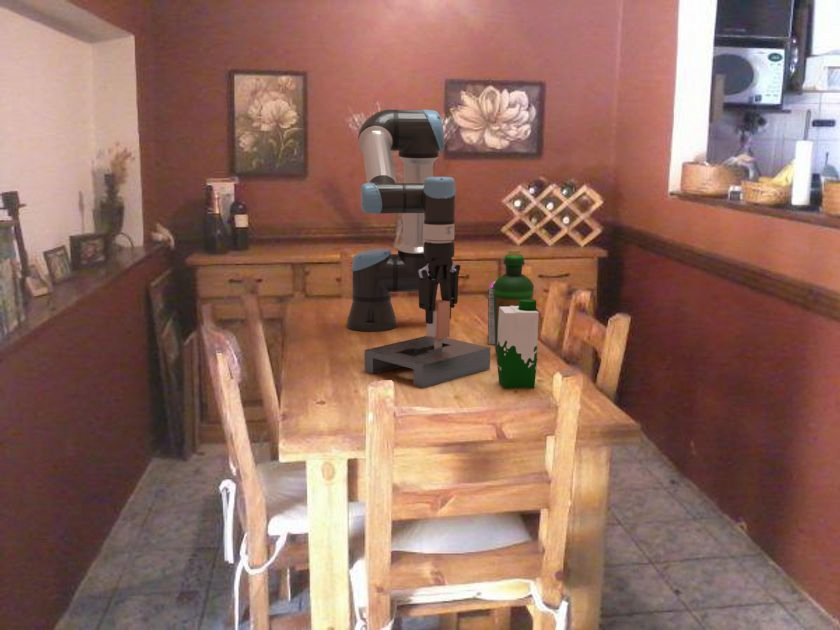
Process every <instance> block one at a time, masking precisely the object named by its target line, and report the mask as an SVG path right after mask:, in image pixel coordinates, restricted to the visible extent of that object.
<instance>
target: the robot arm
mask: <svg viewBox="0 0 840 630" xmlns="http://www.w3.org/2000/svg"><path fill="white" fill-rule="evenodd" d="M357 135H358V136H357V143H358V148H359V149H360V151H361V153H362V155H363V162H364V170H365V178H366V183H365V182H364V183H363V184H361V186H360V208H361V211H362V212H363V213H365V214H374V215H379V214H403V215H402V218H403V220H402V223H403V224H402V243H401V244H400V245H399V246H398V247H397V253H392V251H391V249H389V248H376V249H375V248H374V249H370V250H362V251H360V252H357V253H355V255H354V256H353V257H352V263H351V264H352V265H351V272H352V302H351V306H350V310H349V314H348V316H347V319H346V326H347V327H346V328H348V329H350V330H353V331H360V332H381V331H388V330H393V329H395V328H396V327H397V316H396V315H395V311H394V307H393V305H392V299H391V297H392V296H391V294H392V293H418V308H419V309H422V310H424V311H425V320H424V322H425V324H426V336H432V337H437V311H435V310H434V309H435V302H436V300H437V295H438V294H437V293H438V289H440V296H441V300H445V301H450V320H451V319H452V309H454V308H455V307H456V305H457V304H458V299H459V298H458V297H459V295H458V294H459V274H460V270H461V265H460V264H456V263H454V261H453V259H452V258H453V257H455V242H454V240H455V219H456V217H455V214H456V213H455V212H456V211H455V210H456V207H455V206H456V194H457V193H456V191H457V190H456V181H455V179H454V178H453V177H451V176H434V162H435V161H437V159H439V152H443V151H444V150H445V136H444V135H445V133H444V126H443V121H442V117H441V115H440V113H439V112H438V111H436V110H432V109H423V108H422V109H387V108H386V109H384V110H382V109H381V110H380V111H377V112H375V113H373V114H372V115H370V116H369V117H367V119H366V120H365V121H363V124H362V125H361V126H360V128H359V131H358V134H357ZM392 151H393V152H394V151H395V152H396V151H397V152H398V158H399V159H400V160H401V161H402V163H403V182H400V183H398V182H397V179H396V173H395V168H394V163H393V158H392ZM429 304H430V305H429Z"/></svg>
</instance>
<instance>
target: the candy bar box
mask: <svg viewBox="0 0 840 630" xmlns="http://www.w3.org/2000/svg"><path fill="white" fill-rule="evenodd" d="M495 282H496V280H492V282H491V283H490V284H489V287H488V288H487V289H488V290H487V291H488V294H487V295H488V296H487V344H488V345H490V346H491V345H492V346H495V325H494V297H493V285H494V283H495Z"/></svg>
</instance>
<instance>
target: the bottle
mask: <svg viewBox="0 0 840 630" xmlns="http://www.w3.org/2000/svg"><path fill="white" fill-rule="evenodd" d="M507 252H508V254H505V255H504V259H503V265H505V273H504V274H503V275H501V276H500V277H498V278H497V279H496V280H495V281H496V282H495V283H494V285H493V297H494V325H495V345H494V347H495V348H494V350H495V351H494V353H495V354H496V355H497V341H498V318H499V307H510V306H519V300H520V299H534V290H535V289H534V288H535V285H534V283H533V282H532V280H531V279H530V278H529V277H528V276H526V275H525V274H523V273H522V272H523V266H524V265H525V257H524V255H523V254H521V253H522V251H521V250H520V249H508V250H507Z"/></svg>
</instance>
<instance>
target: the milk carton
mask: <svg viewBox="0 0 840 630" xmlns="http://www.w3.org/2000/svg"><path fill="white" fill-rule="evenodd" d="M539 317H540V313H539V311H538V308H537V300H536V299H534V298H533V299H520V300H519V306H510V307H499V318H498V341H497V354H496V364H497V373H498V375H497V376H498V381H499V383H500V384H501V385H502V387H503V389H535V385H536V378H537V377H536V375H537V367H538V340H539V339H538V335H539V334H538V333H539V332H538V331H539Z"/></svg>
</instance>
